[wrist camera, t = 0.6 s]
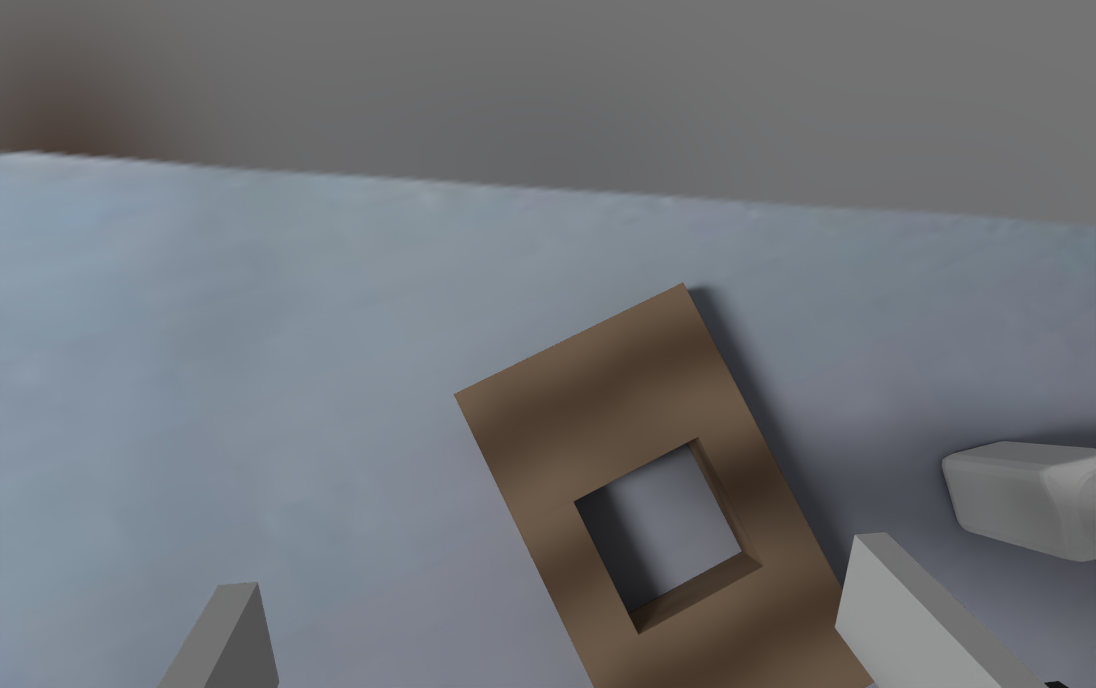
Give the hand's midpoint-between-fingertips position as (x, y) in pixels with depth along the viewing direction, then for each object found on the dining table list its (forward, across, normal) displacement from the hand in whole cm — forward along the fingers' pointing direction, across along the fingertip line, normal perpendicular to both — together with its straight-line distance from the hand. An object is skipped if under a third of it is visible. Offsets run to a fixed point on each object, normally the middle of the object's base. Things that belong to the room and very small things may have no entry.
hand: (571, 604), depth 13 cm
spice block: (+13, -6, +8) cm, 17 cm away
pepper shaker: (+13, -23, +7) cm, 28 cm away
